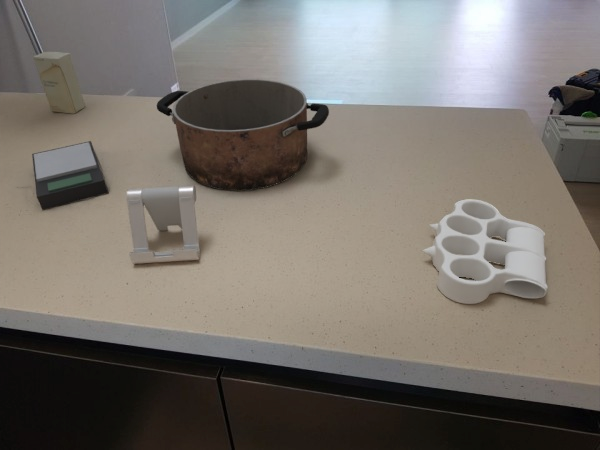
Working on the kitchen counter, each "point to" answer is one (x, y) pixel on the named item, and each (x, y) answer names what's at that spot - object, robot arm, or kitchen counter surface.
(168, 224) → the tablet stand
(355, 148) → the kitchen counter surface
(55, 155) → the scale
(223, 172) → the cooking pot
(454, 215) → the white brass knuckles
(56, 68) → the cosmetic box
